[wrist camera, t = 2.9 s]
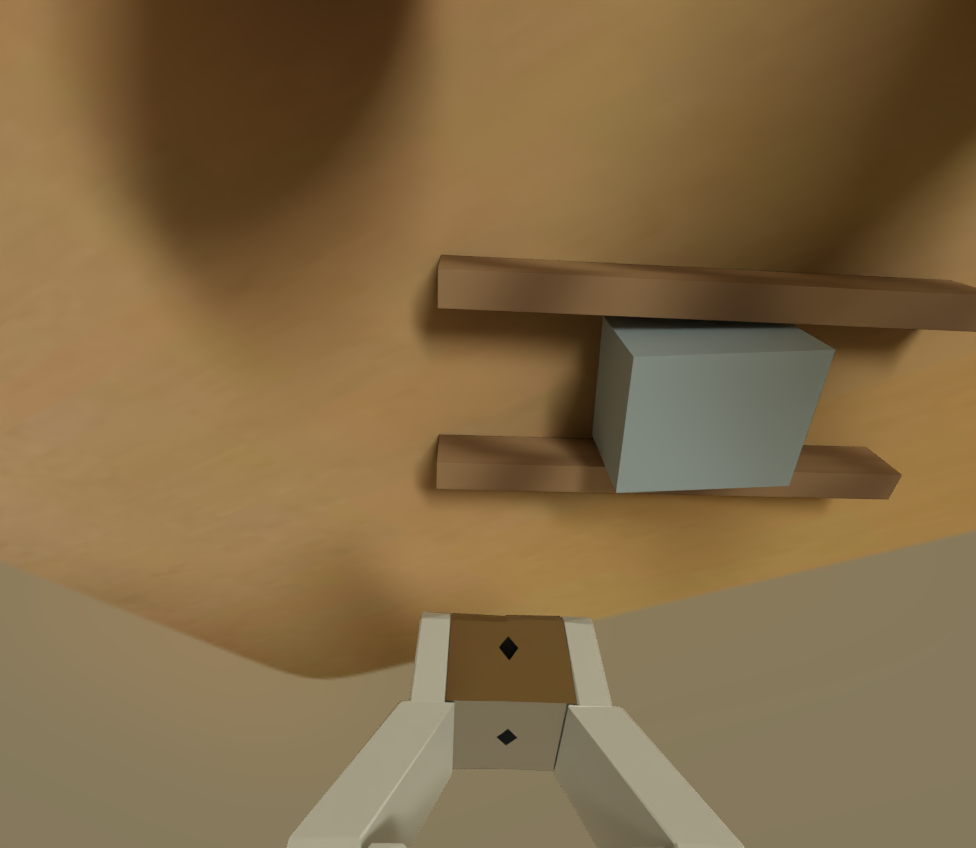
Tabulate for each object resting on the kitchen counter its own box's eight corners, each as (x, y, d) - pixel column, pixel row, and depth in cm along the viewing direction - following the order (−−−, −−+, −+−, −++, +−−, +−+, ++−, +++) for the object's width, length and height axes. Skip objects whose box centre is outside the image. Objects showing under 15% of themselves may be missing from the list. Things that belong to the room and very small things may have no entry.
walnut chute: (439, 459, 21) (436, 488, 19) (441, 254, 17) (437, 268, 15) (854, 470, 22) (888, 499, 20) (951, 280, 18) (1003, 295, 16)
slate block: (591, 432, 21) (616, 492, 17) (602, 314, 18) (633, 356, 15) (735, 427, 21) (788, 486, 17) (766, 308, 18) (835, 349, 15)
